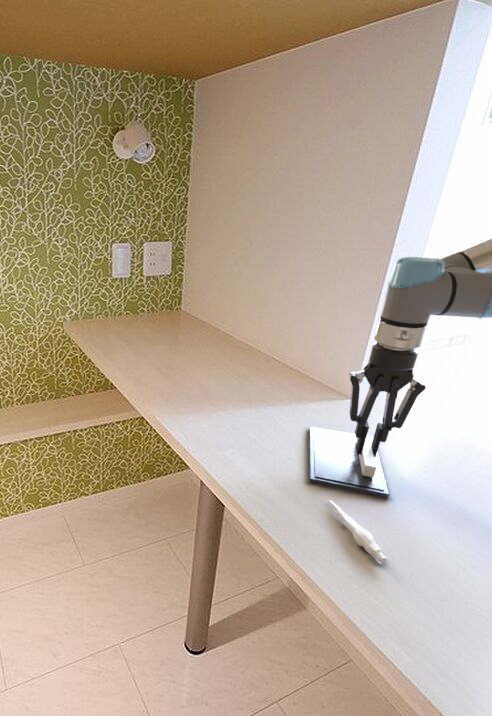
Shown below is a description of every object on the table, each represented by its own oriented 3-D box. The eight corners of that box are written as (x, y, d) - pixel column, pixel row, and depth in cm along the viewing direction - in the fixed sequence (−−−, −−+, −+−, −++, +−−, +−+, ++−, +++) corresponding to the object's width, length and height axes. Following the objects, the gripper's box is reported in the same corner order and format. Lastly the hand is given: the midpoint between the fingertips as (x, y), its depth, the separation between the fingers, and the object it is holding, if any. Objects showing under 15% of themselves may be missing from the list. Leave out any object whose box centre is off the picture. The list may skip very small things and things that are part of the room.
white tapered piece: (390, 565, 67) (394, 556, 66) (375, 568, 66) (378, 559, 66) (334, 502, 80) (336, 494, 79) (321, 504, 80) (323, 496, 79)
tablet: (373, 440, 100) (374, 436, 100) (388, 498, 81) (389, 493, 81) (309, 430, 104) (310, 425, 104) (309, 482, 86) (310, 477, 85)
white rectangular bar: (364, 438, 98) (367, 429, 97) (373, 477, 85) (376, 467, 84) (355, 437, 99) (357, 428, 98) (362, 475, 85) (365, 465, 84)
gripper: (354, 346, 79) (328, 454, 90) (448, 356, 75) (409, 469, 85) (350, 334, 86) (326, 436, 96) (437, 343, 81) (402, 449, 92)
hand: (365, 451), depth 91 cm, fingers closed on white rectangular bar, 2 cm apart
